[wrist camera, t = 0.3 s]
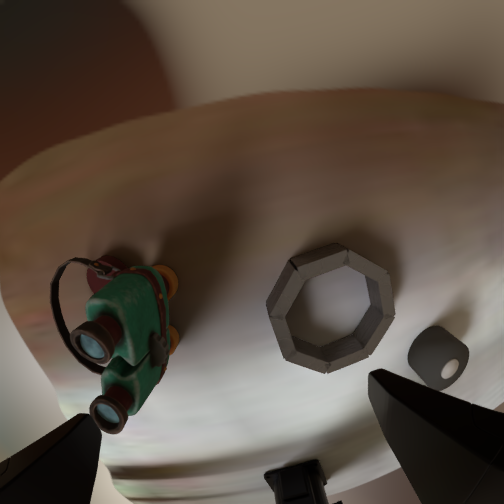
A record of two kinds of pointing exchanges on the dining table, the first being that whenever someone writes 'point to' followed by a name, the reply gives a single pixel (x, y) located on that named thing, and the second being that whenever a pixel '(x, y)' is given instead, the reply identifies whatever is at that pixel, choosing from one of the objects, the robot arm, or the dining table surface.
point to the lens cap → (438, 357)
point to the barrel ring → (345, 348)
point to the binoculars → (121, 334)
